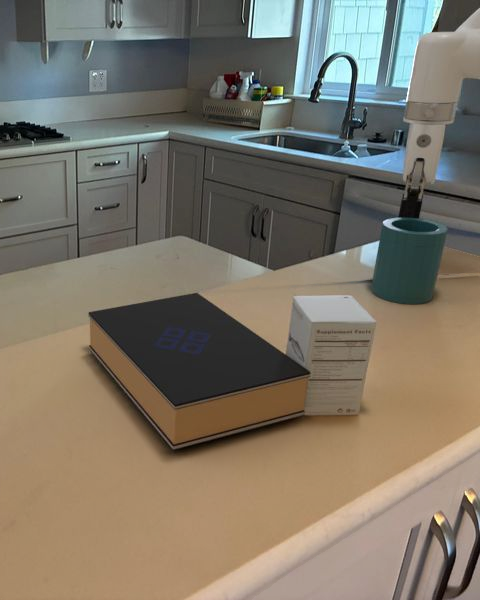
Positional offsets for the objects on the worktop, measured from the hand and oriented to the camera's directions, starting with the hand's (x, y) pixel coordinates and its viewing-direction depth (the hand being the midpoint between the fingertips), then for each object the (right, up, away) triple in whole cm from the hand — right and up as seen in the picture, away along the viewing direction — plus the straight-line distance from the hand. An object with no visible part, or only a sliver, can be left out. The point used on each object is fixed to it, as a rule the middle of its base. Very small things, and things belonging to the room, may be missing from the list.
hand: (408, 218), depth 110 cm
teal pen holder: (-4, -13, -5) cm, 15 cm away
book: (-45, -26, -30) cm, 60 cm away
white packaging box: (-29, -27, -34) cm, 52 cm away
